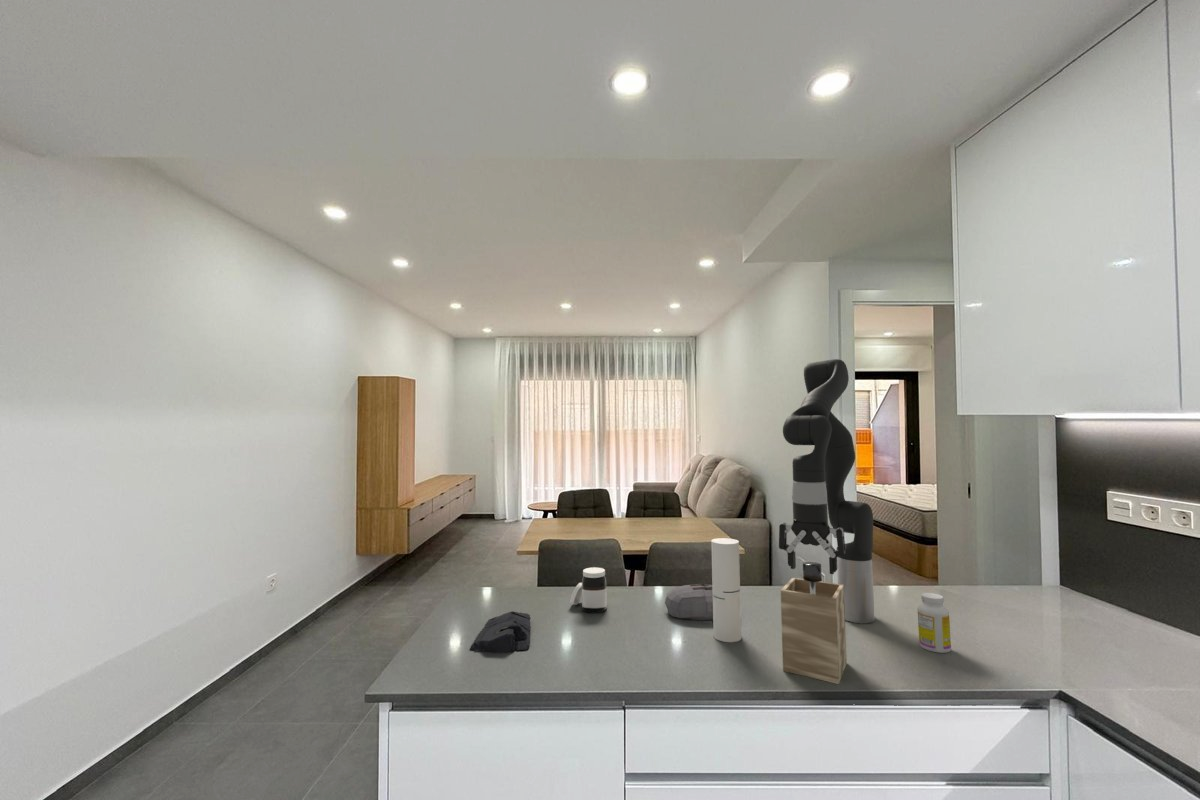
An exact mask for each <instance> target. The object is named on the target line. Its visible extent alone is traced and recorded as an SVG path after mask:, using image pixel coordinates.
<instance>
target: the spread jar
mask: <svg viewBox="0 0 1200 800" xmlns="http://www.w3.org/2000/svg"><path fill="white" fill-rule="evenodd" d="M605 575H606V569H604V568H603V567H595V566H593V567H587V568H584V569H583V570H582V580H581V582H578V584H577V585H576V586H575V587H574V588H573V591H572V593H571V596H570V603H571V604H572V605H574V606H577V605H578V604H580V603H581V608H582V610H583V611H585V612H586V611H587V613H592V612H593V613H601V612H604V611H606V609H607V605H608V603H607V602H608V600H607V599H608V596H607V594H608V593H607V585H608V584H607V578H606V576H605Z"/></svg>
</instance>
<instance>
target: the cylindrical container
mask: <svg viewBox="0 0 1200 800" xmlns="http://www.w3.org/2000/svg"><path fill="white" fill-rule="evenodd" d="M710 543H711V577H712V578H711V579H712V582H711V583H712V584H711V585H712V587H713V620H712V621H713V622H712V623H713V624H712V625H713V638H715V639H716V640H718V641H721V642H724V643H737V642H739V641H741V640H742V610H741V607H742V606H741V578H740V577H741V575H740V574H741V573H740V570H741V569H740V541H739V540H737V539H734V538H727V537H725V538H724V537H723V538H722V537H721V538H712V539H711V542H710Z"/></svg>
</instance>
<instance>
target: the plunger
mask: <svg viewBox="0 0 1200 800" xmlns="http://www.w3.org/2000/svg"><path fill="white" fill-rule="evenodd" d="M822 575H823V574H822V564H821V563H819V562H814V561H804V562H802V579H804V580H806V581H810V594H815V595H816V590H815V582H820V581H821V582H823V580H822Z"/></svg>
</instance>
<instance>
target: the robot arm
mask: <svg viewBox="0 0 1200 800" xmlns="http://www.w3.org/2000/svg"><path fill="white" fill-rule="evenodd" d="M803 378H804V379H803V380H804V383H805V384H804V385H805V388H806V392H807V395H805V397H803V400H802V402H801V404H800V407H798V408H797V409H795V410H793V412H791V413H790V414H789V415H788V416H787V417H786V419H785V420H784V423H783V425H782V426H783V427H782V435H783V438H784V440H785V441H786V442H787V443H788V444H790V445H793V446H814V448H813V449H812V451H811V452H810V453H809V454H808V453H807V454H803V455H797V456H795V457H794V458H793V459H792V492H791V493H792V495H791V499H792V520H793V522H792V524H791V523H790V524H789V523H786V522H782V523H780V524H779V527H778V529H779V530H778V534H779V535H778V549H780V550H783V551H786V553H787V565H788V567H790V569H791V570H795V569H796V567H797V566H796V565H797V564H796V561H797V559H796V551H795V549H796V548H797V547H798V546H799V544H800V543H802V544H803V545H807V546H808V545H812V546H815V547H818V546H821V547H822V549H823V550H824V551H825V552H826V553H827V554H828V556H829V557H828V562H829V574H830V575H834V574H835V573H837V584H841V585H844V604H845V621H847V622H852V623H855V624H870V623H871V624H872V623H873V622H875V598H874V578H873V575H874V573H873V550H874V513H873V509H872V507H871V505H869V504H868V503H866V502H861V501H854V500H853V501H850V500H846V499H845V495H844V494H845V493H844V485H845V482H846V480H847V477H848V475H849V474H850V472H851V470H852V468H853V466H854V463H855V461H856V451H855V447H854V441H853V436H852V434H851V432H850V431H849V429H848V428H847V427H846V426H845V424H843V423H842V421H840V419H838V418H837V417H836V415H835V414H834V413H832V408H833V406H834V405H835V403H837V401H838V400H839V399H840V397H841V396H842V394H844V392H845V391H846V389H847V387H848V385H849V371H848V367H847V365H846V363H845V361H843V360H842V359H839V358H838V359H837V358H835V359H834V358H832V359H828V360H821V361H814V362H809V363H807V364H805V366H804V368H803ZM829 524H830V525H831V527H830V526H829ZM790 531H792V533H793V534H794V535H795V536H796V537H795V538H794V539H793V541H792V542H791V543H790V544H787V543H788V542H787V539H788V538H787V537H788V534H789V533H790ZM845 533H846V534H853V536H854V537H853V540H852V541H851V542H847V543H846V541H845ZM830 534H832V535H833V538H834V539H836V545H837V547H836V549H835V547H834V546H833V545H832V543H831V541H829V539H828V536H830Z"/></svg>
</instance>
